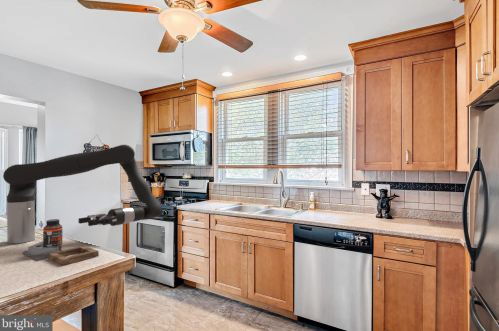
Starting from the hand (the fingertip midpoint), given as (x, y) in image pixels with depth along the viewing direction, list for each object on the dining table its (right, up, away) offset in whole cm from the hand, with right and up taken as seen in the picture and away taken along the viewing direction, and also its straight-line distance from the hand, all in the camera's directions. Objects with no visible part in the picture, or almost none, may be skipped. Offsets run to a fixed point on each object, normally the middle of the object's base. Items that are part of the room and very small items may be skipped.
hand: (83, 222), depth 112 cm
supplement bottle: (-6, -9, -9) cm, 14 cm away
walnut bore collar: (+6, -9, -16) cm, 19 cm away
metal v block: (-8, -9, -11) cm, 16 cm away
